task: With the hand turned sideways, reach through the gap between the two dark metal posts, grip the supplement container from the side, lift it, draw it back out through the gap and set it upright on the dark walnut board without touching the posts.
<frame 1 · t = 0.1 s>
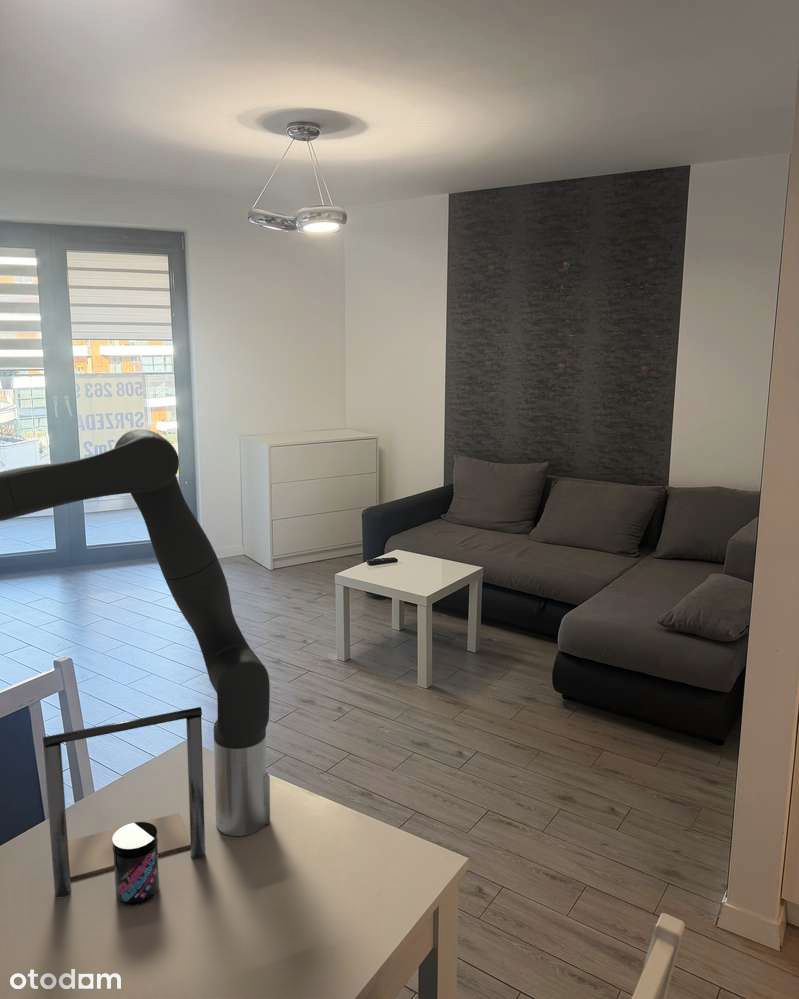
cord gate: (133, 873, 125), on the table
walnut board: (126, 846, 132), on the table
supplement container: (137, 893, 121), on the table
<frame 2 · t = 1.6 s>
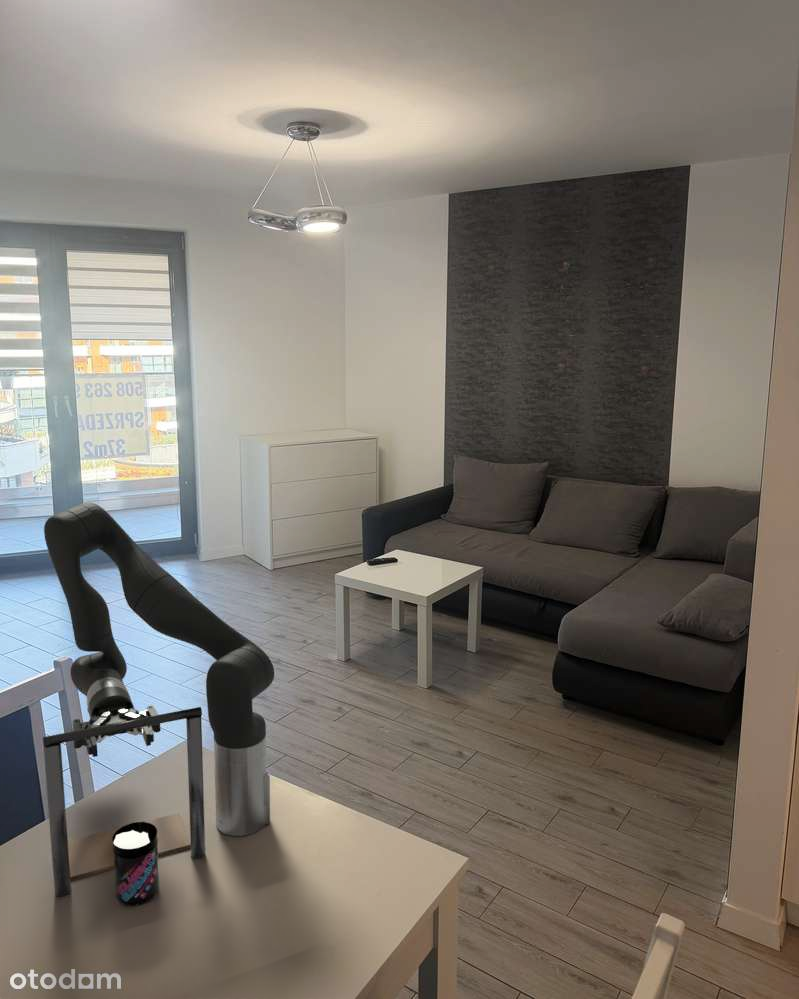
hand: (122, 746, 126), 20 cm above the table, tool horizontal, fingers open, 8 cm apart
nothing on the table moved.
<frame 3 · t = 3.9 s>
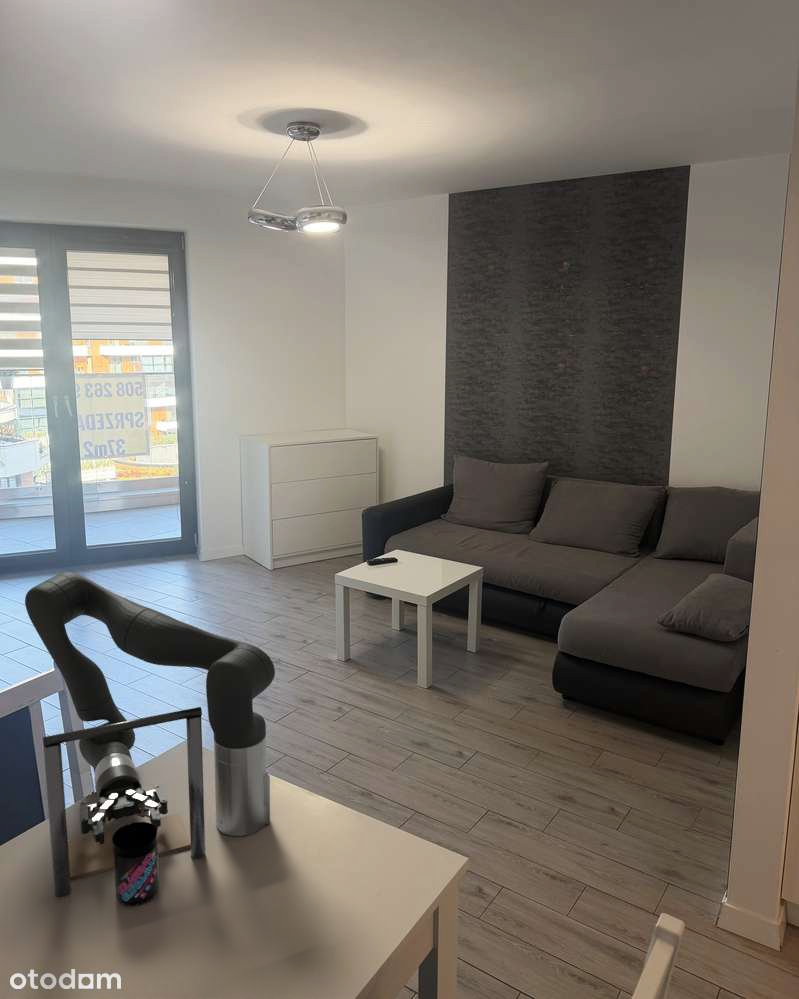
hand: (129, 832, 126), 6 cm above the table, tool horizontal, fingers open, 8 cm apart
nothing on the table moved.
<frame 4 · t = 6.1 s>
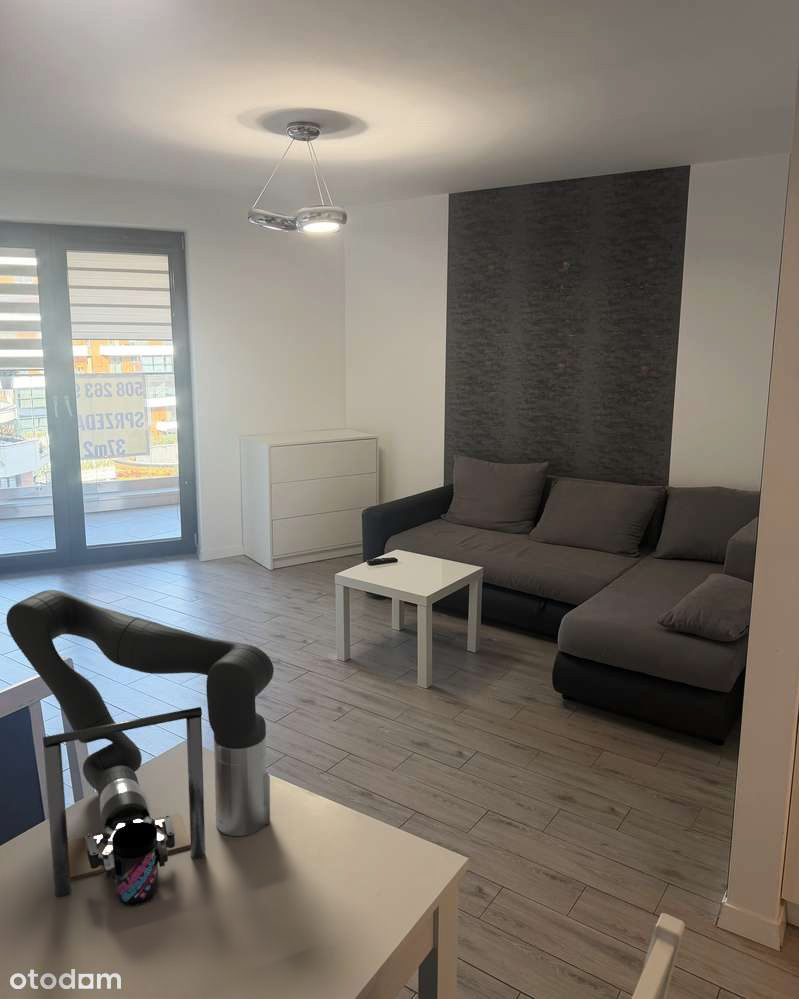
hand: (138, 868, 118), 6 cm above the table, tool horizontal, fingers closed on supplement container, 6 cm apart
supplement container: (137, 893, 121), on the table, touching gripper
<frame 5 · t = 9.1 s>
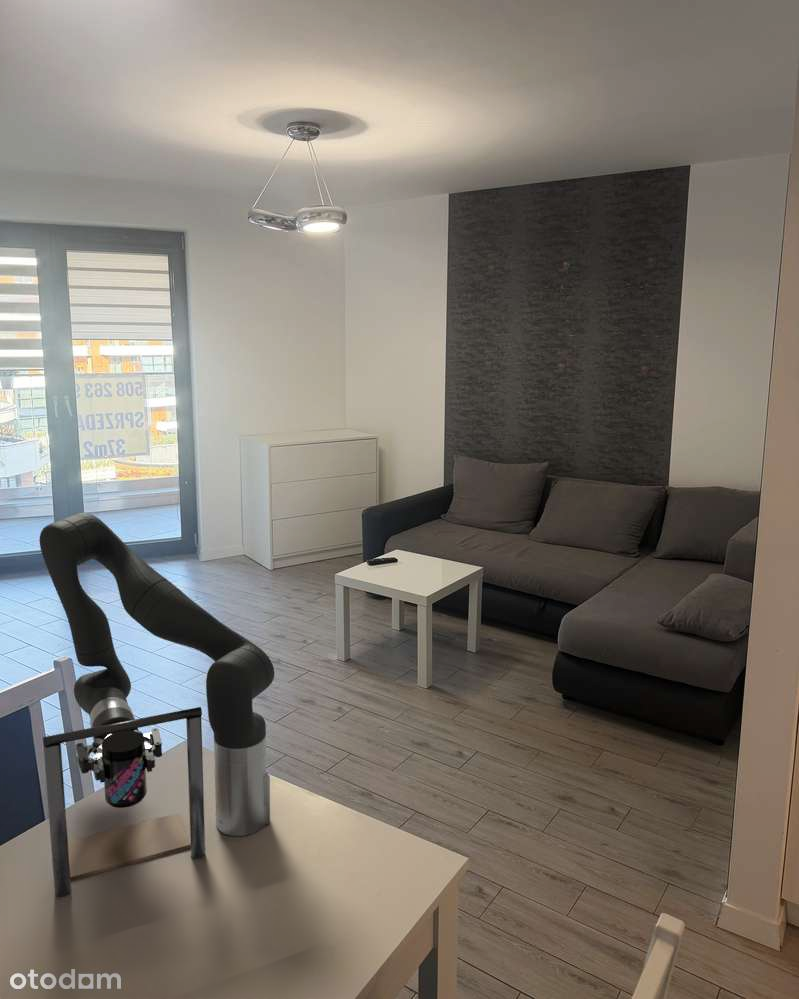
hand: (126, 771, 123), 18 cm above the table, tool horizontal, fingers closed on supplement container, 6 cm apart
supplement container: (126, 798, 126), point 11 cm above the table, touching gripper
when the fingers open (8 cm above the table, at t = 12.1 s): supplement container drops 1 cm, resting on walnut board.
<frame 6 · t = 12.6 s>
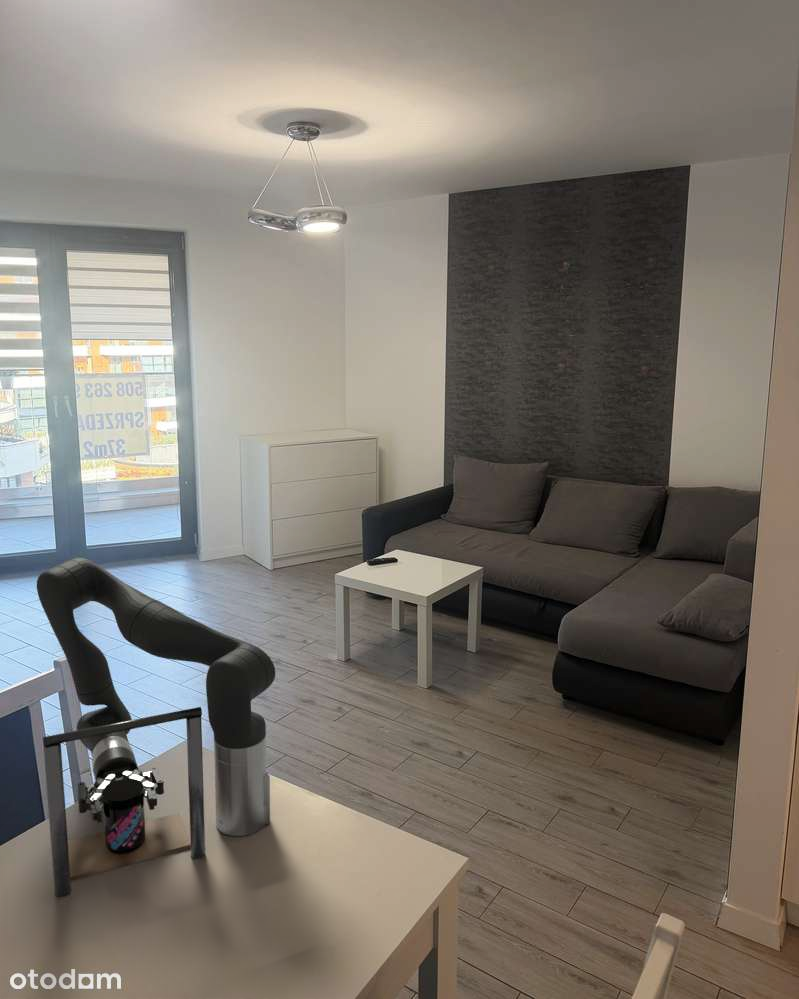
hand: (126, 811, 128), 8 cm above the table, tool horizontal, fingers open, 8 cm apart
supplement container: (125, 844, 132), resting on walnut board
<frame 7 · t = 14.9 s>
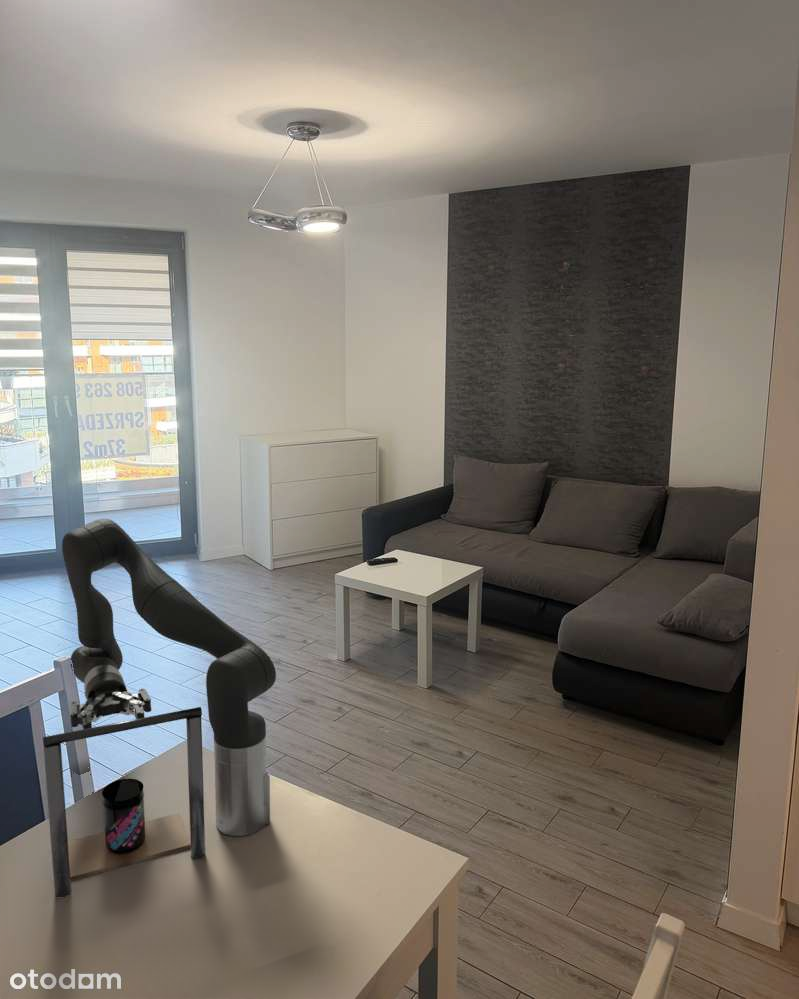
hand: (115, 723, 137), 18 cm above the table, tool horizontal, fingers open, 8 cm apart
nothing on the table moved.
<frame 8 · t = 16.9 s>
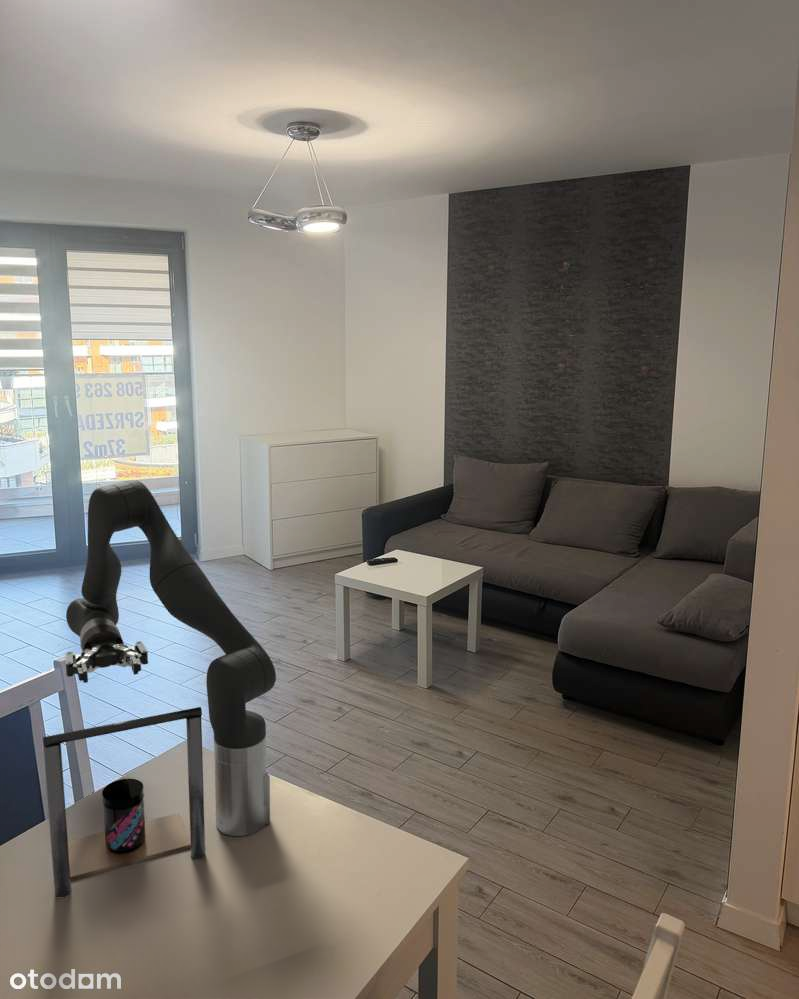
hand: (111, 673, 135), 28 cm above the table, tool horizontal, fingers open, 8 cm apart
nothing on the table moved.
at the end: supplement container inside the target area on the walnut board (0.1 cm from its centre), point 0.4 cm above the walnut board's base; supplement container tilted 0°; the gripper is holding nothing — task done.
